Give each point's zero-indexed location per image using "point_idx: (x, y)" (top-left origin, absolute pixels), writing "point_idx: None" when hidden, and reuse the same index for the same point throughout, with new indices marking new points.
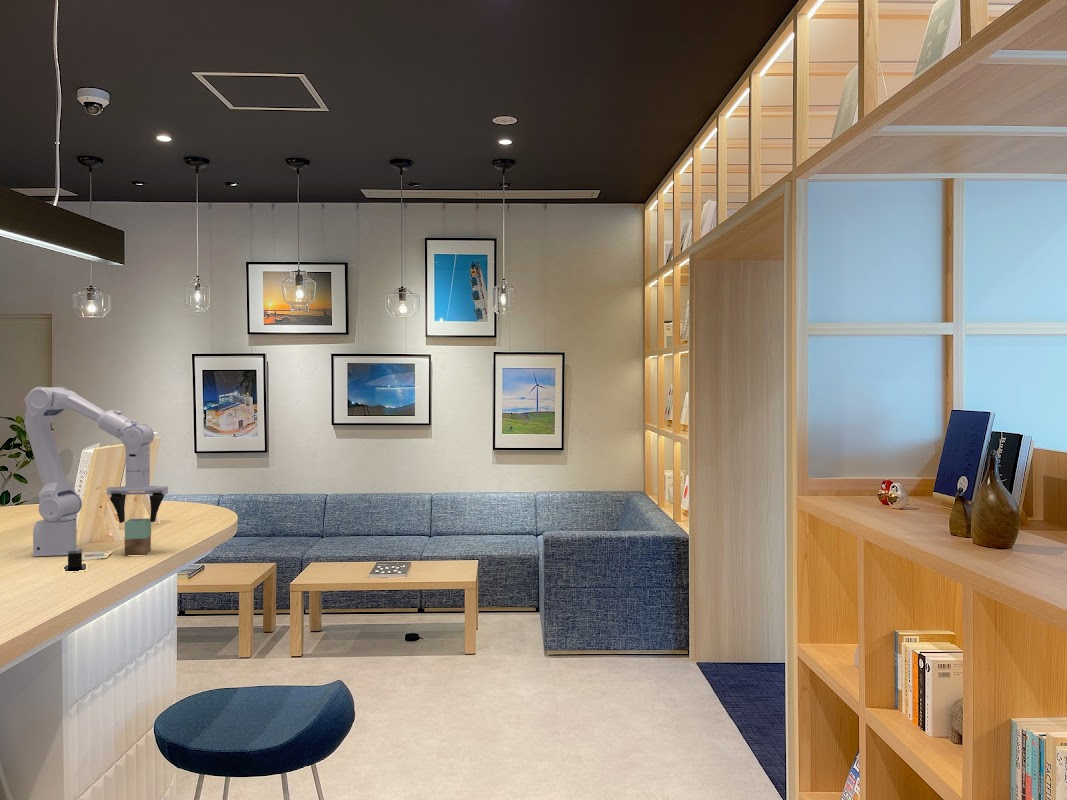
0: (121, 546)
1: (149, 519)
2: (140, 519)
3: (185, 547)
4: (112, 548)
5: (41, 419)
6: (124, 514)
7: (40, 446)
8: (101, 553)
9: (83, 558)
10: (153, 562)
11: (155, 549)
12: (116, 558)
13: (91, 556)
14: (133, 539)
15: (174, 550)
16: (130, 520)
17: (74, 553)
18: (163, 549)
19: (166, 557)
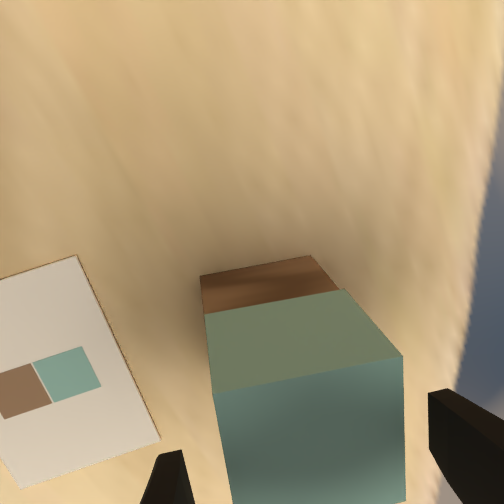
0: (24, 84)
1: (402, 399)
2: (321, 414)
3: (473, 126)
4: (4, 160)
5: None
6: (175, 497)
7: None
8: (50, 336)
9: (34, 454)
10: (411, 472)
11: (313, 190)
12: (203, 420)
13: (45, 410)
14: None
15: (432, 217)
16: (252, 471)
17: None
18: (361, 189)
19: (438, 381)
